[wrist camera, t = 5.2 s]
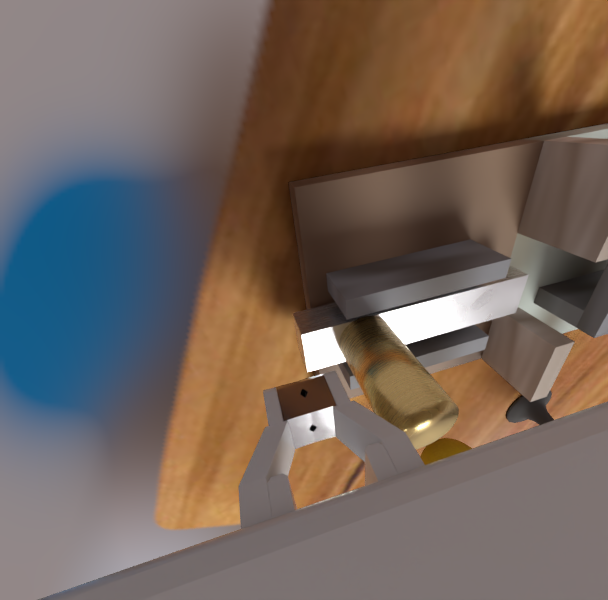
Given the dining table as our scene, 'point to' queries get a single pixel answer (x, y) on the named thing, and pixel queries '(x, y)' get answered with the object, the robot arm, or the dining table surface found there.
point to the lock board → (468, 247)
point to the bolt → (403, 350)
